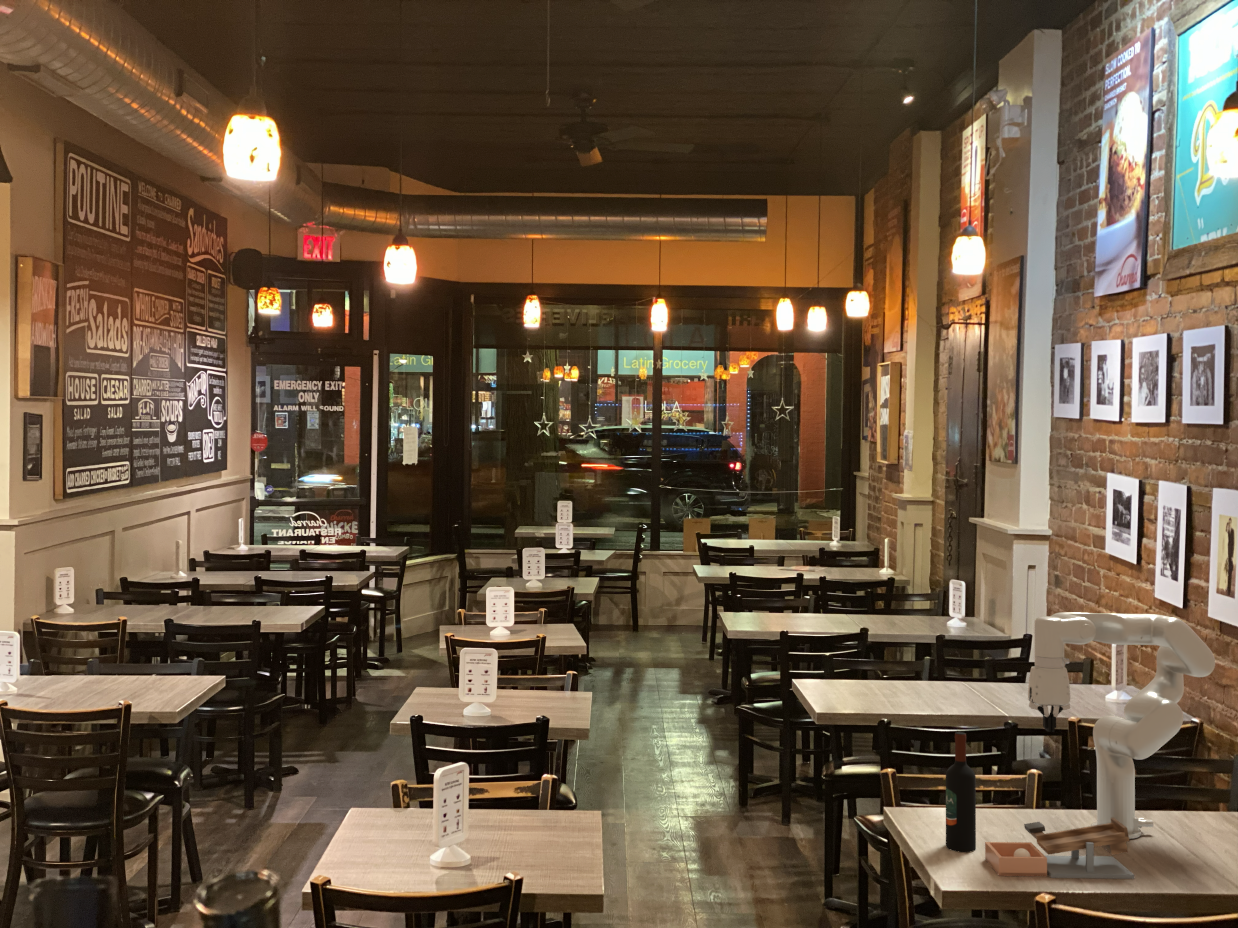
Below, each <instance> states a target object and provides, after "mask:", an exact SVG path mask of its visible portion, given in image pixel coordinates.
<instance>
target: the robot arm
mask: <svg viewBox="0 0 1238 928" xmlns="http://www.w3.org/2000/svg"><path fill="white" fill-rule="evenodd" d="M1092 641H1094V642H1098V643H1103V644H1108V645H1119V646H1125V645H1126V646H1127V645H1128V646H1129V645H1130V646H1132V645H1135V646H1136V645H1137V646H1139V645H1140V646H1145V645H1146V646H1147V645H1148V646H1159V648H1158V649H1157V652H1156V671H1155V675H1154V677H1153V678H1152V679H1151V680H1150V682H1149V683H1148V684H1147V685H1146V686H1144V687H1143V688H1142V689H1140V691H1138V692H1137V693H1135V695H1133V696H1132V697H1131V698H1130V699H1129V700H1128V701H1127V703H1126V704H1125V705H1124V708H1123V714H1124V717H1125V718H1124V717H1121V716H1117V715H1104V716H1102V717H1100V718H1098V719H1097V720H1096V722H1095V723H1094V726H1093V728H1092V737H1093V738H1092V739H1093V744H1094V748H1095V756H1096V821H1095V822H1092V823H1091V825H1090V826H1095V825H1101V824H1107V823H1111V818H1115V819H1116V820H1118V821H1119V822H1120V823H1122V824H1123V825H1124V826H1126V827H1127V830H1128V836H1129V840H1132V839H1138V838H1139V837H1141V836H1142V830H1141V829H1142V827H1145V828H1153V827H1154V820H1152V819H1145V818H1144V817H1138V816H1136V815H1135V813H1136V812H1135V811H1136V808H1135V807H1136V796H1135V795H1136V789H1135V787H1136V786H1135V783H1136V782H1135V780H1136V779H1135V778H1136V774H1135V773H1136V772H1135V771H1136V770H1135V764H1134V760H1137V761H1138V760H1145V759H1147V758H1149V757H1150V756H1152V755H1154V754H1155V753H1156V752H1157V751H1159V749H1161V747H1163V746H1164V745H1165V744H1167V743H1168V742H1169V741H1170V740H1171V739H1173V737H1175V735H1177V734H1178V733H1179V732H1180V730H1181V728H1182V726H1183V722H1184V713H1183V709H1182V708H1181V707H1180V705H1179V704H1178V703H1179V702H1180V701H1181V699H1182V697H1183V696H1184V691H1185V686H1184V685H1185V684H1184V683H1185V682H1184V679H1185V678H1184V675H1187V676H1190V677H1195V678H1204V677H1205V678H1206V677H1207V676H1209V675H1211V674H1212V673H1213V672H1214V669H1215V667H1216V658H1215V655H1214V653H1213V651H1212V650H1211V648H1210V647H1209V646H1208V645H1207V643H1206V642H1204V641H1203V639H1201V638H1200V636H1199V635H1198V634H1197V633H1196V632H1195V631H1194V630H1193V629H1192V627H1191V626H1189V624H1187V623H1186V622H1184V621H1183V620H1181V619H1180V618H1179V617H1175V616H1168V615H1162V614H1156V613H1155V614H1154V613H1107V612H1106V613H1101V612H1100V613H1097V612H1096V613H1095V612H1094V613H1093V612H1056V613H1054V614H1052V615H1050V616H1049V615H1048V616H1047V615H1046V616H1037V617H1036V618H1035V620H1034V666H1031V668H1030V671H1029V672H1030V673H1029V676H1028V677H1029V678H1028V686H1027V687H1028V688H1027V689H1028V690H1027V699H1028V701H1029V703H1028V708H1030V709H1031V710H1035V711H1038V712H1039V713H1040V714H1041V716H1042V727H1043V728H1044V730H1045V731H1046V732H1048V733H1051V732H1052V733H1055V732H1056V728H1057V717H1058V716H1059V715H1060V714H1061V712H1062V711H1066V710H1070V709H1071V704H1070V703H1071V687H1070V686H1071V685H1070V679H1069V678H1070V677H1069V674H1068V670H1067V668H1066V665H1067V664H1070V658H1066V656H1065V644H1070V645H1079V646H1080V645H1086V644H1089V643H1091V642H1092ZM1049 706H1050V711H1049ZM1133 759H1134V760H1133Z"/></svg>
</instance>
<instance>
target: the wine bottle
mask: <svg viewBox="0 0 1238 928" xmlns="http://www.w3.org/2000/svg"><path fill="white" fill-rule="evenodd" d="M954 754H955V755H954V764H952V765H950V766H949V767H948V769H946V772H945V847H946V849H948V850H950V851H953V852H958V851H959V852H958V853H971V852H970V851H972V852H974V851H976V849H977V843H976V842H977V841H976V840H977V839H976V838H977V837H976V835H977V831H976V830H977V824H976V823H977V821H976V820H977V818H976V817H977V816H976V815H977V811H976V810H977V805H976V803H977V802H976V801H977V800H976V799H977V798H976V797H977V796H976V795H977V793H976V791H977V790H976V789H977V788H976V787H977V785H976V784H977V783H976V780H977V779H976V778H977V777H976V773H975V772H974V770H973V769H972V768H971V767H970V766H969V765H968V764H967V733H966V732H961V731H956V732H955V733H954ZM973 850H974V851H973Z"/></svg>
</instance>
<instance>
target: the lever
mask: <svg viewBox="0 0 1238 928" xmlns="http://www.w3.org/2000/svg"><path fill="white" fill-rule="evenodd" d="M1023 826H1024V829H1025V831H1027V832H1028V833H1029V834H1030V835H1031V836H1032V837H1033V838H1034V839H1035V840H1036V844H1037V846H1039V847H1040V848H1041V850H1043V851H1044V852H1045V853H1046V854H1047V855H1054V854H1062V853H1066V852H1071V851H1073V850H1079V851H1080V850H1084V849H1085V850H1086V842H1093V843H1094V848H1095V847H1096V848H1097V847H1102V849H1104V850H1105V851H1107V853H1108V854H1110V856H1113V855H1114V856H1115V855H1119V854H1120V855H1121V854H1126V853H1128V852H1129V851H1128V846H1127V845H1128V844H1127V842H1130V839H1129V836H1128V830H1127V827H1126V826H1124V825H1123V824H1122V823H1120V822H1119V821H1118V820H1116V819H1115V818H1111V823H1107V824H1101V825H1095V826H1091V825H1088V826H1083V827H1077V828H1072V829H1066V830H1060V831H1053V832H1048V833H1045V832H1046V827H1045V825H1044V824H1042V822H1041V821H1034V822H1029V823H1028V822H1027V823H1024V824H1023Z"/></svg>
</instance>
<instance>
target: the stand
mask: <svg viewBox="0 0 1238 928" xmlns="http://www.w3.org/2000/svg"><path fill="white" fill-rule="evenodd" d="M1094 848H1095V847H1094V843H1093V842H1086V849H1085V855H1080V850H1073V851H1070V852H1071V854H1070V855H1051V854H1049V855H1048V854H1047V855H1044V854H1043V855H1044V856H1045V857H1046V858H1047V876H1049V878H1052V879H1053V878H1055V879H1056V878H1057V879H1060V878H1061V879H1063V878H1064V879H1067V878H1068V879H1120V880H1121V879H1123V880H1125V879H1128V880H1134V879H1135V874H1134V873H1133V872H1132V871H1131V870H1129V869H1128V868H1127V867H1126V866H1124V865H1123V864H1122V862H1120V861H1119V860H1118V859H1116V858H1115V857H1114V856H1113V855H1109V856H1108V855H1107V856H1106V855H1094V854H1095V851H1094V850H1095V849H1094Z"/></svg>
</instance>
